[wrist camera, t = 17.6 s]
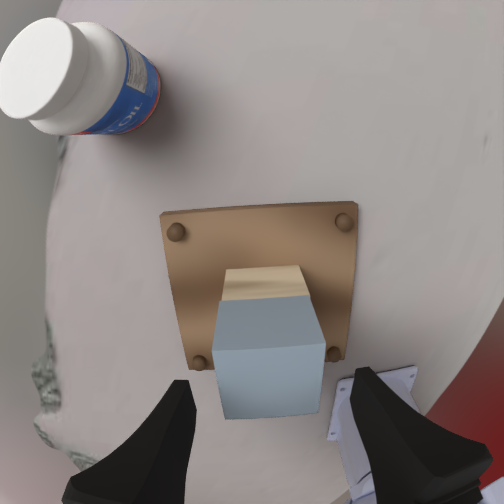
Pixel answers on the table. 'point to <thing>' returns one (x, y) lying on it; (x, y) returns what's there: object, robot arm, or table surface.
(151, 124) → the table surface
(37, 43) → the pill bottle
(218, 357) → the slate block
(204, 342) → the base plate
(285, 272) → the birch block
